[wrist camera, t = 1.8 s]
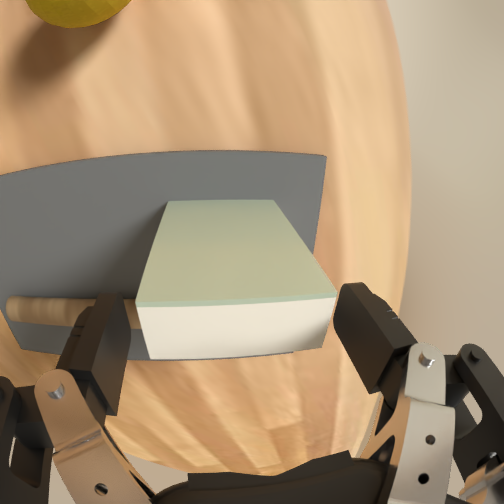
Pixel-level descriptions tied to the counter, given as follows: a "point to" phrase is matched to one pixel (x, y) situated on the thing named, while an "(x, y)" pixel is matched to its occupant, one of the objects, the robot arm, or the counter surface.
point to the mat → (127, 222)
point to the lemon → (75, 11)
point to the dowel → (58, 310)
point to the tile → (231, 283)
